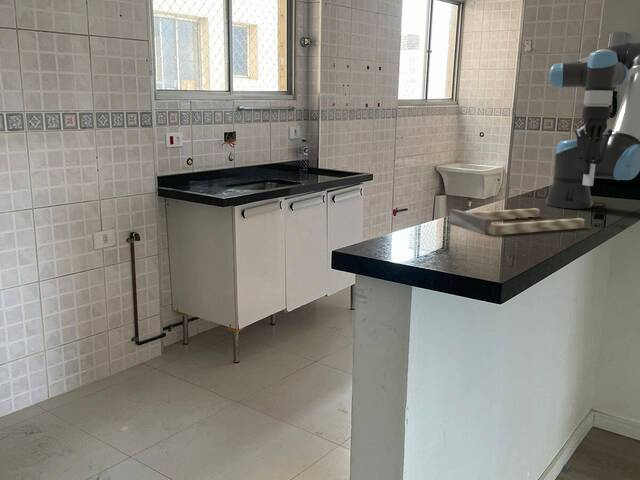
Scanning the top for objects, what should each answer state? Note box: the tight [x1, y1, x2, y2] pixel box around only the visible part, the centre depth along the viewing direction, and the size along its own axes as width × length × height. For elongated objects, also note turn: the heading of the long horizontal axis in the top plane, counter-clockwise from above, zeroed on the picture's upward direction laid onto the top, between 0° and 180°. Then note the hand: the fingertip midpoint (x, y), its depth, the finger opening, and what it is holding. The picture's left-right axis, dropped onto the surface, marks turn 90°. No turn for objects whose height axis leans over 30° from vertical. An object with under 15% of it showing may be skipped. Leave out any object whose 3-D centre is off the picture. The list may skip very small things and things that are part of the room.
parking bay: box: [448, 207, 585, 236], centre depth 174 cm, size 34×20×4 cm, turn 113°
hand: (587, 185), depth 183 cm, fingers closed
